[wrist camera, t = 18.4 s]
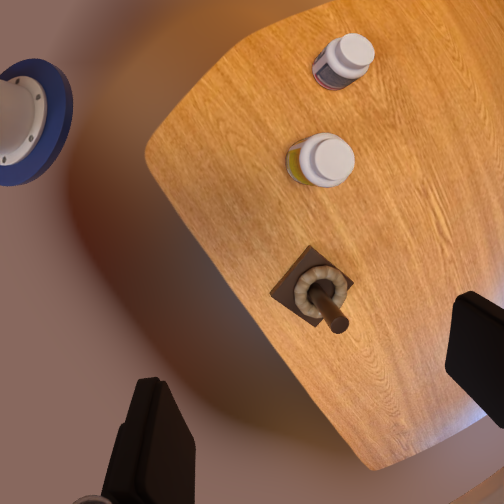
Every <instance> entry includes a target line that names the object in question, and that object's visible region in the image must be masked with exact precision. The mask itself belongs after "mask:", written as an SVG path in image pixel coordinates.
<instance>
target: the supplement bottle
mask: <svg viewBox="0 0 504 504" xmlns="http://www.w3.org/2000/svg"><path fill="white" fill-rule="evenodd" d="M354 164H355V157H354V153H353V151H352V149H351V147H350V146H349V145H348V144H347V143H346V142H345V141H344V140H343V139H341V138H340V137H339V136H337V135H334V134H331V133H319V134H315V135H313V136H310V137H308V138H305V139H303V140H300V141H298V142H296V143H295V144H293V145H292V146H291V147H290V149H289V150H288V152H287V155H286V168H287V171H288V173H289V174H290V176H291V177H292V178H293V179H294V180H296V181H297V182H299V183H302V184H305V185H312V186H318V187H327V188H328V187H334V186H337V185H339V184H341V183H342V182H344V181H345V180H346V179H347V177H348V176H349V174H350V173H351V172H352V170H353V168H354Z"/></svg>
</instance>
